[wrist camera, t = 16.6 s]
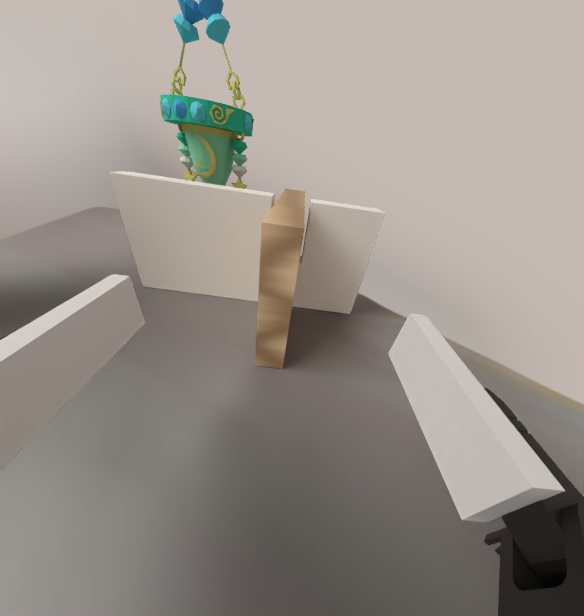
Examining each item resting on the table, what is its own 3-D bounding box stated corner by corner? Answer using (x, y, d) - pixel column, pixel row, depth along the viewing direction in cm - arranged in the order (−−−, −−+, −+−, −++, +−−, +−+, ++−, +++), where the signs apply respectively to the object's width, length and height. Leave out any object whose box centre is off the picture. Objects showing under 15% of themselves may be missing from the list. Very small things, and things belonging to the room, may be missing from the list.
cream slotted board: (142, 286, 26) (108, 172, 20) (154, 277, 28) (126, 171, 22) (350, 314, 27) (385, 213, 20) (347, 303, 29) (378, 208, 22)
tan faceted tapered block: (255, 365, 19) (261, 222, 12) (277, 275, 34) (285, 188, 27) (282, 368, 19) (304, 228, 12) (292, 277, 34) (304, 191, 27)
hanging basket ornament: (166, 264, 32) (78, -134, 15) (210, 244, 41) (187, -21, 24) (231, 283, 30) (215, -153, 13) (263, 257, 39) (279, -22, 22)
